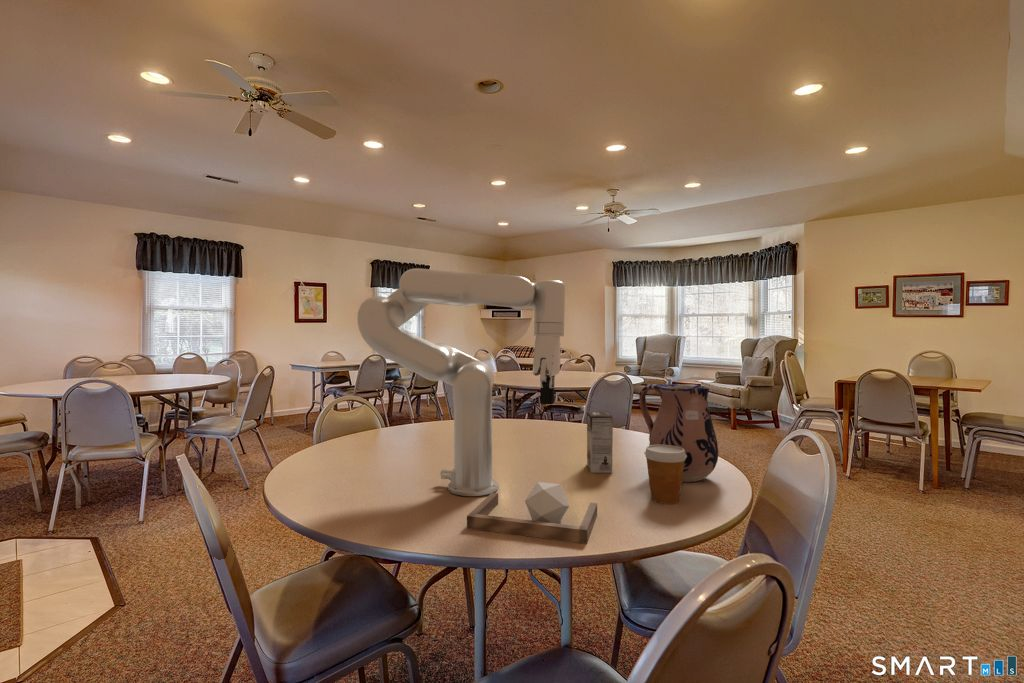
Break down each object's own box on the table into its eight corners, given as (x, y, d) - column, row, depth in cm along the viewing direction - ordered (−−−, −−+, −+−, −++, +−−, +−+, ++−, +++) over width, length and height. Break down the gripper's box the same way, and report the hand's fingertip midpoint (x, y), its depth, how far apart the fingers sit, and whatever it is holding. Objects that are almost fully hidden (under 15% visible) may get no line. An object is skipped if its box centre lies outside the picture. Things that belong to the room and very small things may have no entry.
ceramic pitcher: (713, 492, 119) (713, 390, 119) (628, 479, 130) (629, 386, 129) (722, 474, 135) (722, 384, 134) (645, 464, 145) (646, 380, 145)
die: (573, 520, 103) (553, 478, 107) (577, 514, 95) (555, 469, 99) (538, 537, 101) (519, 494, 106) (539, 532, 94) (519, 485, 98)
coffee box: (586, 464, 145) (586, 410, 145) (607, 464, 145) (607, 410, 145) (590, 473, 136) (590, 415, 136) (613, 473, 136) (613, 415, 135)
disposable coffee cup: (639, 492, 119) (640, 443, 119) (679, 493, 119) (679, 444, 118) (649, 506, 109) (649, 453, 109) (692, 506, 109) (692, 453, 109)
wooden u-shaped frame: (466, 528, 97) (466, 515, 97) (492, 503, 111) (492, 492, 111) (586, 543, 90) (586, 530, 90) (597, 514, 104) (597, 503, 104)
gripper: (541, 330, 129) (540, 399, 129) (526, 329, 115) (524, 406, 115) (569, 331, 127) (567, 401, 127) (557, 330, 113) (555, 409, 113)
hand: (547, 403), depth 121 cm, fingers closed
